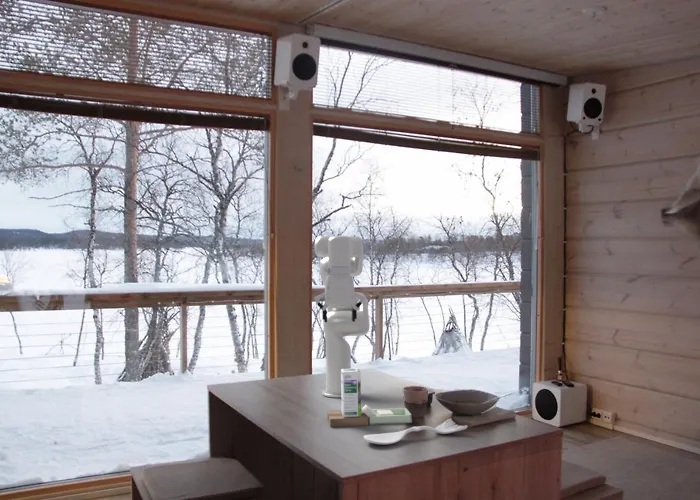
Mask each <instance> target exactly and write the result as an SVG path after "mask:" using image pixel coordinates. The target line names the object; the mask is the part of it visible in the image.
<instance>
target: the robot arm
mask: <svg viewBox="0 0 700 500" xmlns="http://www.w3.org/2000/svg"><path fill="white" fill-rule="evenodd" d="M313 247H314V253H315V255H316V257H318V258H322V259H321V260H320V262H319V272H320V273H319V274H320V279H321V280H322V283H323V286H324V292H322V293H320V294H319V295H316V296H315V297H314V299H313V300H314V302H315V303H316V305H317V306H318V308H320V310H321V312H322V319H321V320H322V321H323V322H322V323H323V331H324V339H325V388H324V389H322V390H321V395H322V396H324V397H328V398H337V399H338V398H339V399H340V398H341V369H352V366H351V365H352V363H351V359H352V356H351V354H352V352H351V351H352V350H351V345H350V343H349V342H348V341H347V340H346V339H345V338H344V337H361V336H365V335H367V334H368V333H369V330H370V316H369V314H370V313H369V306H368V305H369V304H368V299H367V296H366V295H365V294H364V293H362V292H358V291H355V284H354V283H355V282H354V277H357V276H360V275H361V273H362V272H363V267H364V244H363V241H362V239H361V238H360V237H359V236H352V235H351V236H348V235H319V236H317V237H316V238H315V240H314V246H313ZM323 298H324V304H322V303H321V301H320V299H323Z"/></svg>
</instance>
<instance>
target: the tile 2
mask: <svg viewBox="0 0 700 500" xmlns="http://www.w3.org/2000/svg"><path fill="white" fill-rule="evenodd" d="M392 415H393V412H392V411H391V410H379V411H377V416H392Z"/></svg>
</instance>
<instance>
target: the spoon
mask: <svg viewBox="0 0 700 500" xmlns="http://www.w3.org/2000/svg"><path fill="white" fill-rule="evenodd" d="M467 428H468V424H467V425H459V424H456V422H454V420H453V419H452V418H448V419H446V420H445V421H443V422H442V423H440V424H438V425H437V426H436V427H435V428H434V427H431V426H429V425H421V426H420V425H419V426H412V427H409V428H406V429H403V430H400V431H395V432H394V431H393V432H386V433H385V432H383V433H373V434H371V433H370V434H365V435H363V440H364V441H366V442H368V443H371V444H375V445H380V446H389V445H393V444H396V443H397V442H400V441H401V440H402V439H403V438H404V437H405V436H406V435H408V434H409V433H411V432H420V431H425V430H427V431H431V432H434V433H437V434H440V435H446V434H452V433H456V432H460V431H464V430H466V429H467Z"/></svg>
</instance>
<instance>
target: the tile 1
mask: <svg viewBox="0 0 700 500" xmlns="http://www.w3.org/2000/svg"><path fill="white" fill-rule="evenodd" d="M361 409H362V410H363V412H364V413H365V414H366V415H367V416H368V417H369V416H377V414H376V413H375V412H374V411H373V410H372V408H370V406H368V405H367V404H365V405H364V406H363V407H361Z"/></svg>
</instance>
